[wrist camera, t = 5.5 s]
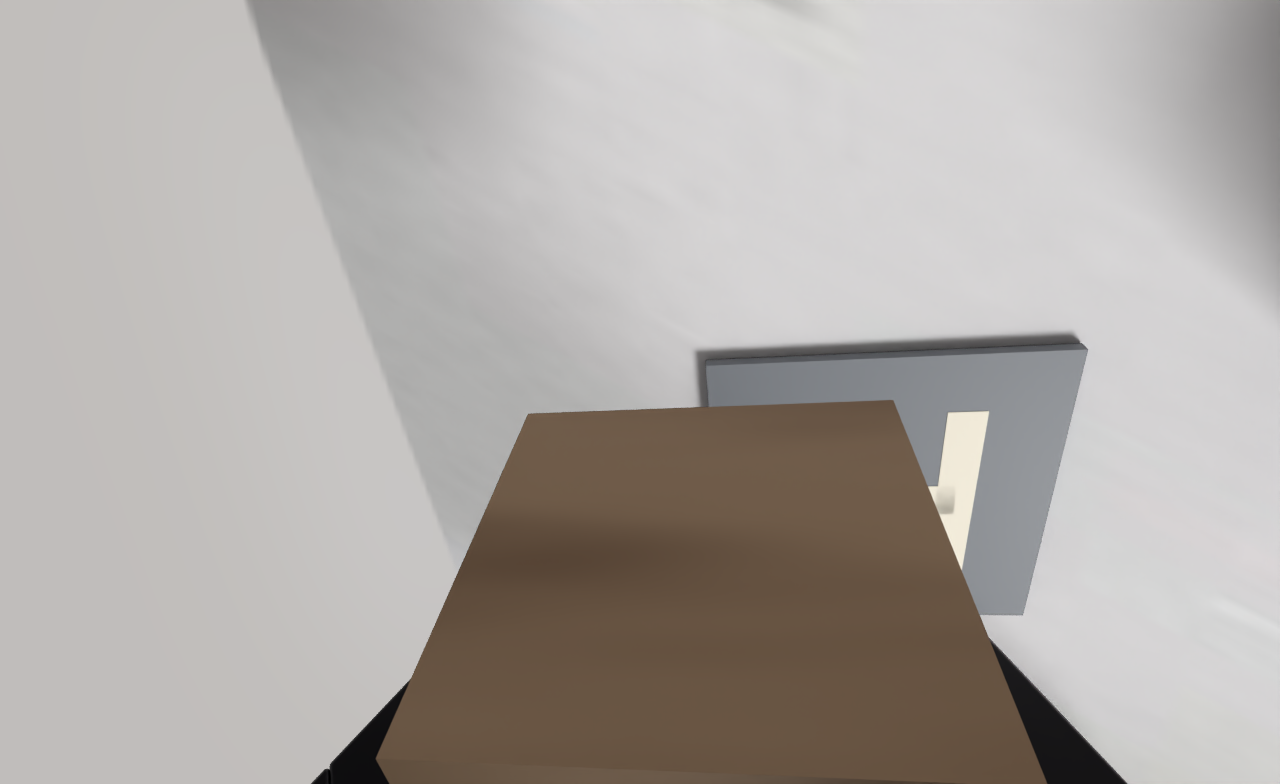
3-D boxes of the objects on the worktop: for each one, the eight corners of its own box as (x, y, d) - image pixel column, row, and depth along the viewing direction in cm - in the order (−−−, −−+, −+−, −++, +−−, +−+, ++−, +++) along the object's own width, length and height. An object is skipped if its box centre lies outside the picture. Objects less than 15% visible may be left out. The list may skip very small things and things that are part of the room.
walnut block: (869, 647, 11) (955, 1041, 7) (582, 643, 12) (508, 998, 8) (893, 399, 9) (1049, 787, 5) (528, 413, 10) (375, 758, 5)
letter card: (1018, 606, 25) (1022, 615, 25) (723, 603, 27) (723, 611, 27) (1081, 343, 20) (1088, 349, 19) (706, 359, 21) (705, 366, 21)
